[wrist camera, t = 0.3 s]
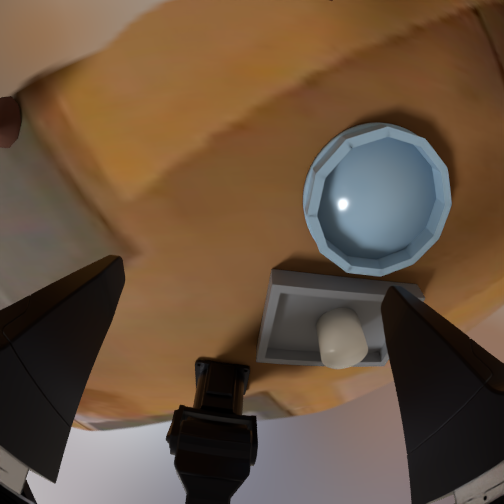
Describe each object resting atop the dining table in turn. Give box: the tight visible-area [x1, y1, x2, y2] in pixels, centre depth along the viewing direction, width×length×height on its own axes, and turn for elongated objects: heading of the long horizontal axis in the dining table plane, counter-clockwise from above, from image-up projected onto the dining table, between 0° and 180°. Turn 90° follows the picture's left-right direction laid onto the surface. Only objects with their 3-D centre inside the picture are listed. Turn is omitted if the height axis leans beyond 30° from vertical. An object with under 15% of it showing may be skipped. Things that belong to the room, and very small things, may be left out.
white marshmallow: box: [316, 308, 368, 369], centre depth 26 cm, size 4×4×4 cm
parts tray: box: [256, 269, 425, 367], centre depth 27 cm, size 10×15×2 cm
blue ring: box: [303, 122, 452, 276], centre depth 21 cm, size 12×12×2 cm
